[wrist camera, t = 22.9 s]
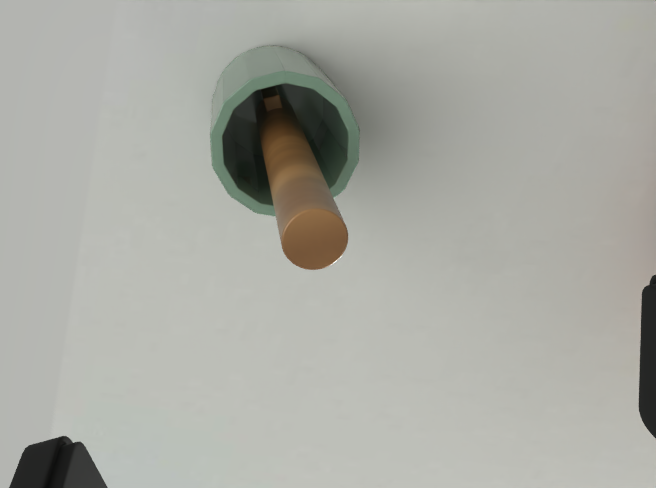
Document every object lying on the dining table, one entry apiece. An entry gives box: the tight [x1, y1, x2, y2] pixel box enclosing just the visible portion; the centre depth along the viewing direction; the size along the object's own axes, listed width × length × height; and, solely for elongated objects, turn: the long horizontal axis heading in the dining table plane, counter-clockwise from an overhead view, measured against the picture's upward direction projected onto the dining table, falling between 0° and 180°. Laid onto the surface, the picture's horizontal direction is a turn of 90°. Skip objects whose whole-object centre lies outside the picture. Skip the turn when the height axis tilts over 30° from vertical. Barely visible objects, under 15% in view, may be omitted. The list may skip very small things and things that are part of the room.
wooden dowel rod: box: [256, 86, 348, 270], centre depth 26 cm, size 3×2×16 cm, turn 11°
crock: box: [210, 46, 360, 216], centre depth 30 cm, size 6×6×8 cm
